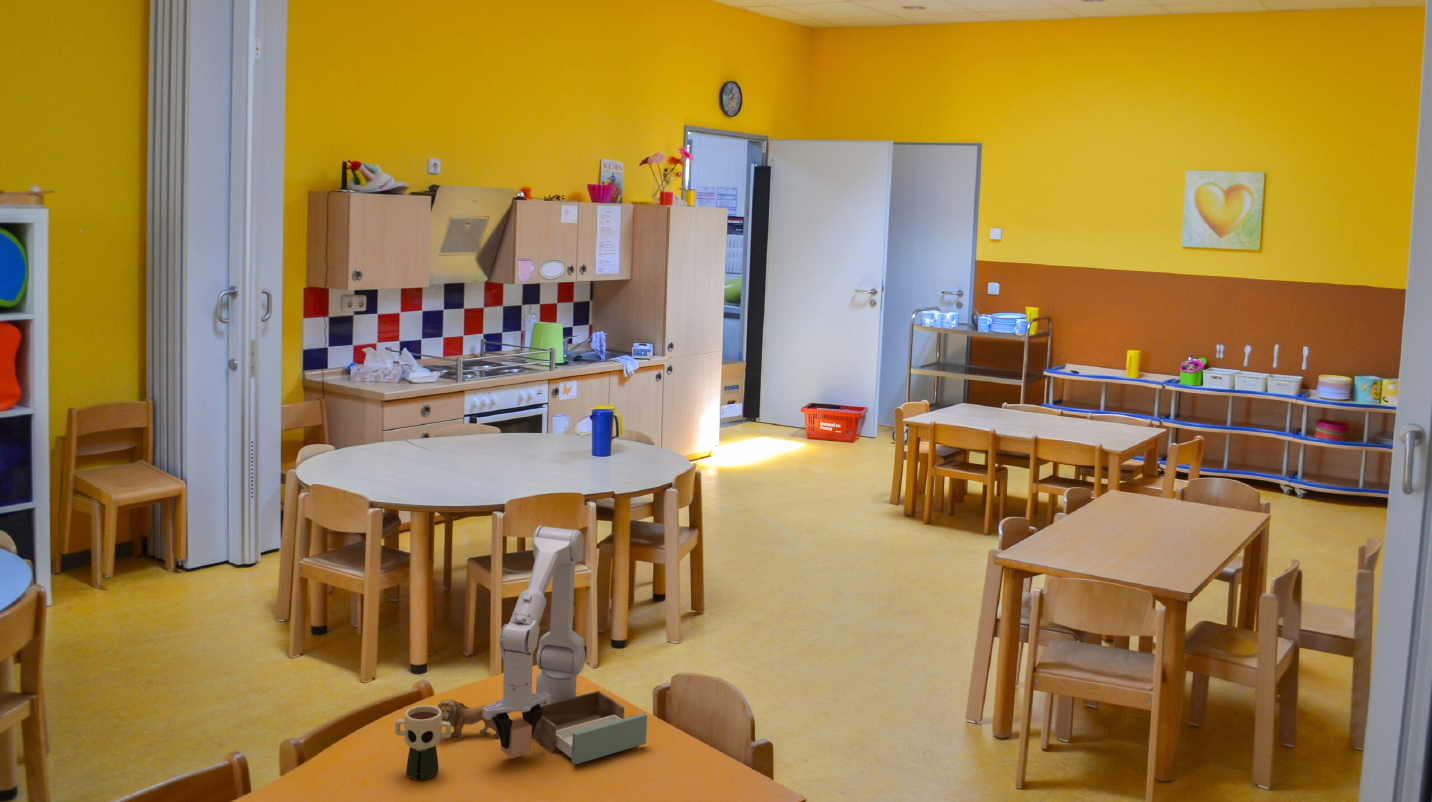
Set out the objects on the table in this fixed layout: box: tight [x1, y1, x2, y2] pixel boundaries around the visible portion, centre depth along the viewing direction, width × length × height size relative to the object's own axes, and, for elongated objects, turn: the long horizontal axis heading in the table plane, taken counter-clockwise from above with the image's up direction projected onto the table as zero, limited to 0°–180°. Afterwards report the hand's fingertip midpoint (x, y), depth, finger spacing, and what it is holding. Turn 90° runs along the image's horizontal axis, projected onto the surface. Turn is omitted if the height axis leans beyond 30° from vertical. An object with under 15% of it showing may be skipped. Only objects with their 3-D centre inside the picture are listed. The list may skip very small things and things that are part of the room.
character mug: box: [394, 704, 452, 780], centre depth 232 cm, size 11×7×13 cm, turn 90°
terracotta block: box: [500, 716, 533, 759], centre depth 240 cm, size 4×4×6 cm
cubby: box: [532, 690, 625, 754], centre depth 254 cm, size 10×18×6 cm, turn 129°
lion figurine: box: [437, 698, 500, 742], centre depth 250 cm, size 15×5×9 cm, turn 114°
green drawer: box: [556, 712, 648, 765], centre depth 247 cm, size 11×18×6 cm, turn 129°
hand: (516, 743), depth 240 cm, fingers closed on terracotta block, 4 cm apart
